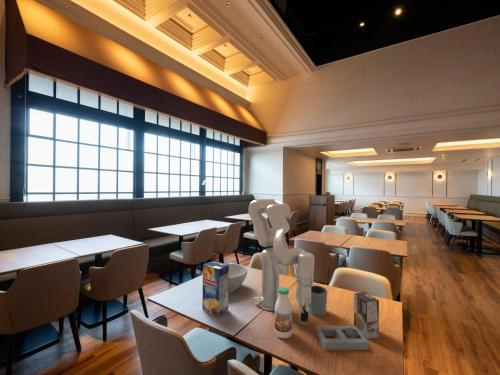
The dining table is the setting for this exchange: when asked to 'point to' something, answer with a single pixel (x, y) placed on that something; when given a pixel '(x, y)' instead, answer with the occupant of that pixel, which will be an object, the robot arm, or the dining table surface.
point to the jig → (341, 338)
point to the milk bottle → (283, 314)
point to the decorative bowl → (236, 276)
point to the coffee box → (366, 315)
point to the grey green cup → (318, 300)
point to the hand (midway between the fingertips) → (302, 317)
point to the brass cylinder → (300, 316)
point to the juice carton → (215, 287)
